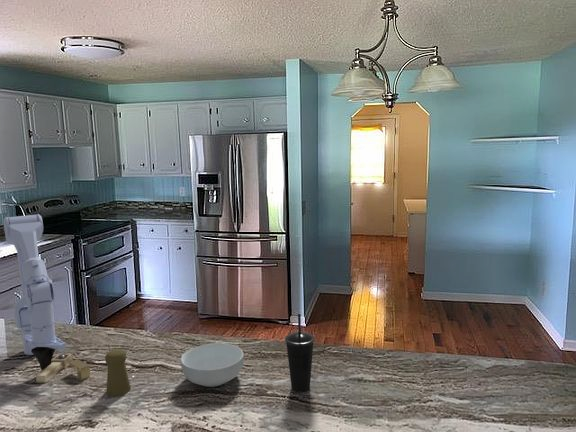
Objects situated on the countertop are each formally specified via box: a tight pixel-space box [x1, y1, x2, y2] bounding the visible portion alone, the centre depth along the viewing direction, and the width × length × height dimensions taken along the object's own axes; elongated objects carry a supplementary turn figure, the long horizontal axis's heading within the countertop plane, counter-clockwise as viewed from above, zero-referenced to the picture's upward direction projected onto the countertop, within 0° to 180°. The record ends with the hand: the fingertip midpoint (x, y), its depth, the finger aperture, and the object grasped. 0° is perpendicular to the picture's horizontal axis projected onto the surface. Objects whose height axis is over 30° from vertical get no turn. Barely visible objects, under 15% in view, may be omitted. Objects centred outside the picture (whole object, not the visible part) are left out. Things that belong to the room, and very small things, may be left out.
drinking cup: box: [284, 313, 316, 393], centre depth 114 cm, size 8×8×20 cm
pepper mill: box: [104, 348, 132, 398], centre depth 115 cm, size 6×6×11 cm
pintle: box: [58, 353, 66, 359], centre depth 129 cm, size 2×2×4 cm
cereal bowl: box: [180, 342, 245, 388], centre depth 120 cm, size 17×17×7 cm
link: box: [35, 353, 74, 383], centre depth 125 cm, size 12×4×2 cm, turn 176°
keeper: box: [69, 359, 91, 381], centre depth 123 cm, size 7×2×4 cm, turn 52°
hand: (46, 370), depth 124 cm, fingers closed, pressing on link
